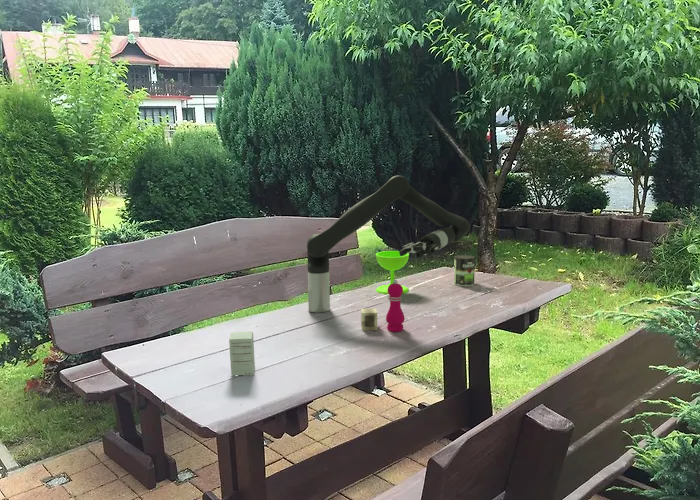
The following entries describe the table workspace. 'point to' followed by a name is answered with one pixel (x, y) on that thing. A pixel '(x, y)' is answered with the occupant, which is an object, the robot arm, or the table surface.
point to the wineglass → (391, 266)
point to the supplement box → (242, 353)
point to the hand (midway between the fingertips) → (408, 254)
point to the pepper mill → (395, 308)
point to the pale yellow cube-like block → (369, 319)
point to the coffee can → (464, 270)
